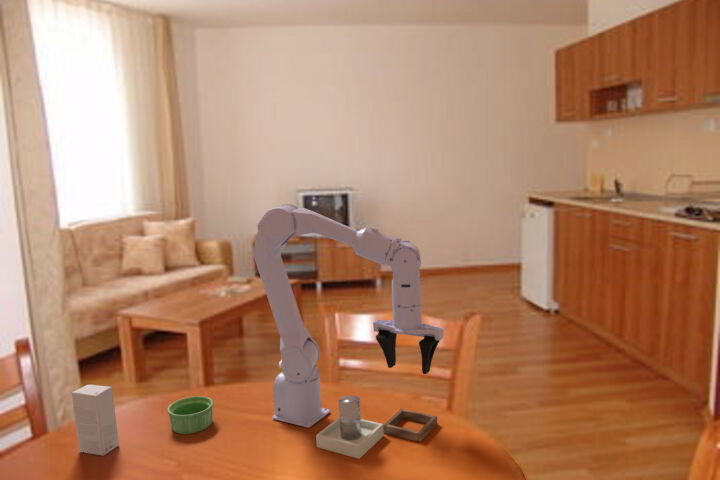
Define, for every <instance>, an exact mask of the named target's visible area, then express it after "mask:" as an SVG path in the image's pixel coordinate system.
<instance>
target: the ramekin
mask: <svg viewBox="0 0 720 480" xmlns="http://www.w3.org/2000/svg"><path fill="white" fill-rule="evenodd" d="M213 406H214V401H213V399H212V398H210V397H208V396H204V395H203V396H202V395H197V396H195V395H193V396H187V397H183V398H180V399H178V400H175V401H173V402H172V403H171V404H169V405H168V407H167V414H168V415H169V422H170V425H171V429H172V431H174V433H177V434H182V435H191V434H195V433H199V432H202V431H204V430H206V429H208V428H209V427H210V426H211V425H212V423H213Z"/></svg>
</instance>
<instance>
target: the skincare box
mask: <svg viewBox="0 0 720 480" xmlns="http://www.w3.org/2000/svg"><path fill="white" fill-rule="evenodd" d="M71 396H72V404H73V412H74V419H75V428H76V429H75V430H76V435H77V442H78V443H77V444H78V451H79V453H83V452H84V453H85V454H89V455H90V454H91V455H97V456H106V455H107V454H108V453H110V452H111V451H113V450H115V448H118V447H119V446H120V441H119V433H118V425H117V417H116V410H115V400H114V393H113V387H112V386H107V385H106V386H105V385H98V384H87V385H84V386H82V387H80V388H79V389H76V390H75V391H72V392H71Z"/></svg>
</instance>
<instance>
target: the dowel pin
mask: <svg viewBox="0 0 720 480" xmlns="http://www.w3.org/2000/svg"><path fill="white" fill-rule="evenodd" d="M361 409H362V407H361V398H360V397H359V396H357V395H349V394H348V395H344V396H342V397H340V398H339V399H338V410H339V412H338V413H339V417H340V435H341V438H343V439H345V440H356V439H358V438H360V437H361V435H362V431H361V419H362V415H361V414H362V410H361Z"/></svg>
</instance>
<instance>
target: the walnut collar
mask: <svg viewBox="0 0 720 480" xmlns="http://www.w3.org/2000/svg"><path fill="white" fill-rule="evenodd" d="M403 419H406V420H410V421H414V422H419V423H424V426H423V427H421V429H420V430H419V431H417V430H413V429H409V428H406V427H400V426H396V425H398V423H400V422H401V420H403ZM437 425H438V416H436V415H431V414H428V413H423V412H418V411H414V410H409V409H404V408H400V409H399V410H398V411H397V412H396V413H395V414H394V415H392V416H391V417H390V418H389V420H387V421H386V422H385V423H383V431H384V434H386V435H389V436H395V437H399V438H403V439H406V440H410V441H415V442H419V443H421V442H423V440H424V439H425V438H426V437H427V436H428V435H429V434H430V433H431V432H432V431H433V430H434V428H435V427H436V426H437Z"/></svg>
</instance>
